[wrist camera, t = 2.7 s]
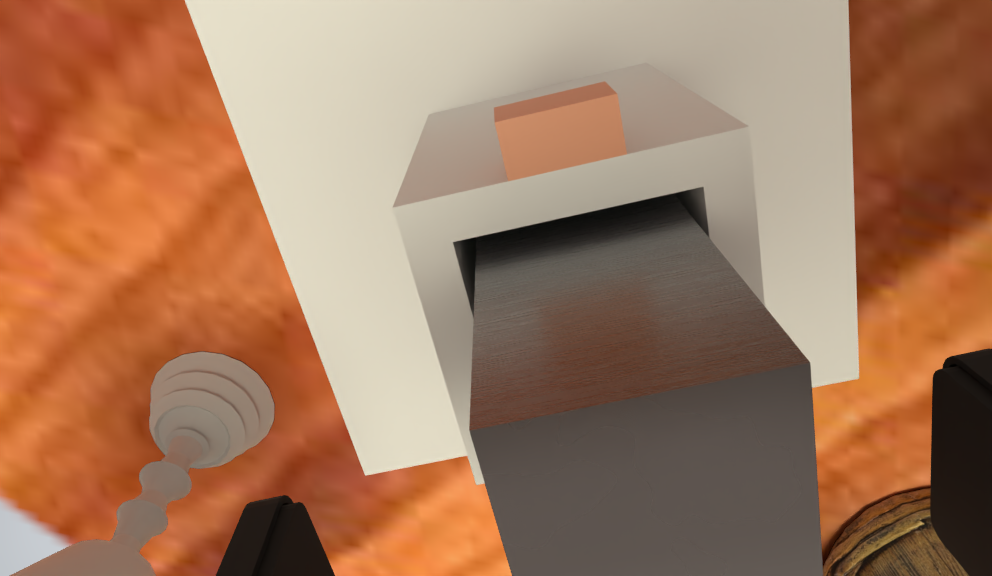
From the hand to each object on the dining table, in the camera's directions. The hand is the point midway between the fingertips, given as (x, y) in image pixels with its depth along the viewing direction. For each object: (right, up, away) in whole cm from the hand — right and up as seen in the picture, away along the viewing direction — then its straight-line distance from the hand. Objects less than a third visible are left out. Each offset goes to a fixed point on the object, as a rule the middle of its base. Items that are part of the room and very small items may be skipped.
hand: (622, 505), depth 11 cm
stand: (0, +7, +16) cm, 17 cm away
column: (0, +6, +14) cm, 15 cm away
